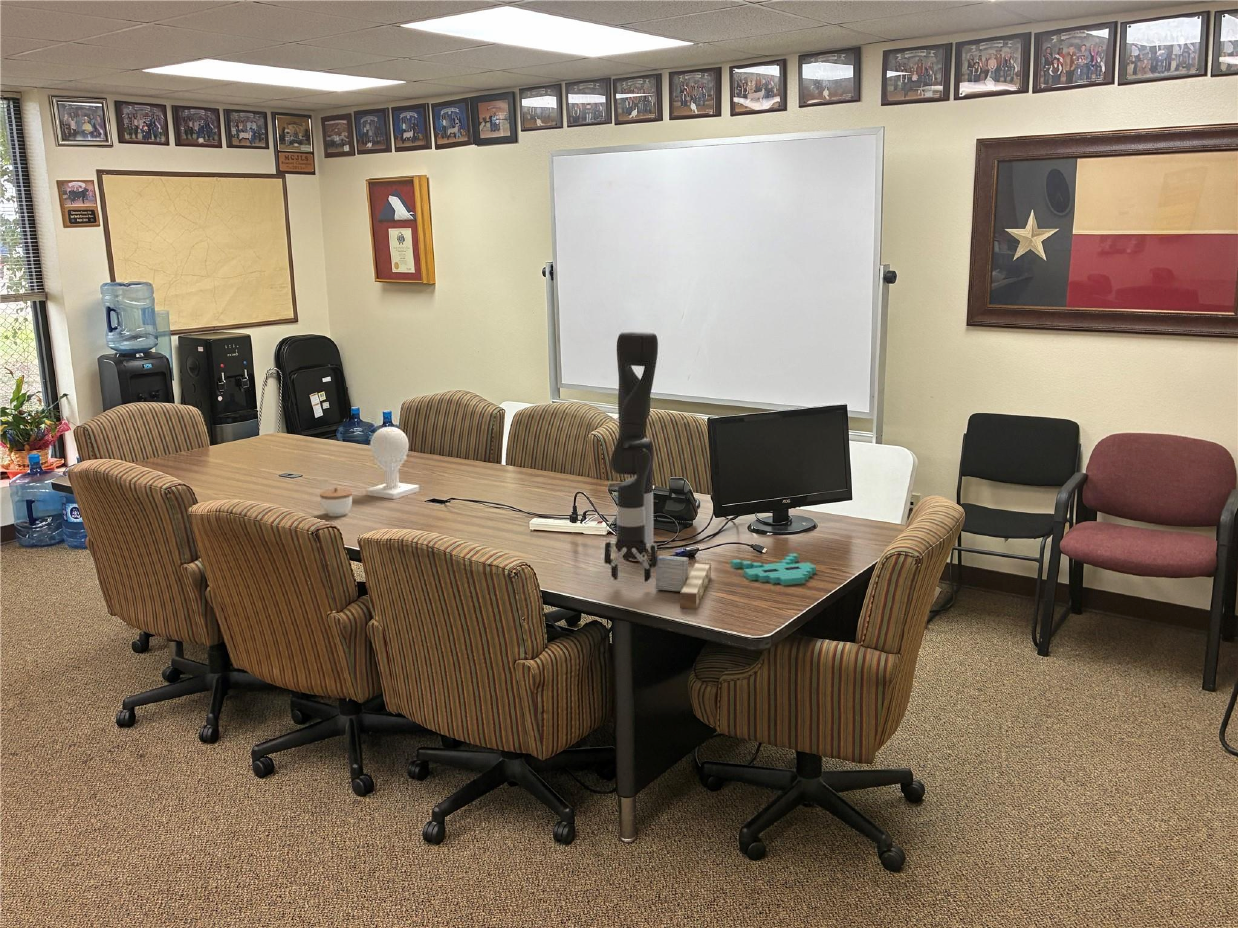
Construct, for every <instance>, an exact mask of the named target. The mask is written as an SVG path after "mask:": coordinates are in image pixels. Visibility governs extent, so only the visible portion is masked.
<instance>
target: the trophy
mask: <svg viewBox="0 0 1238 928" xmlns="http://www.w3.org/2000/svg"><path fill="white" fill-rule="evenodd" d="M369 445H370V451H371V454H372V456H373V458H374V461H375V463H376V464H378V465H379V467H380V468H382V469H383V470H384V482H385V483H383V484H379V485H376V486H373V487H370V488H367V489H365V494H366V496H371V497H378V498H385V499H391V500H396V499H399V498H402V497H405V496H408V495H411V494H414V493H417V492H419V491H420V485H418V484H417V485H416V484H409V483H401V482H400V480H399V479H400V478H399V469H400V467H402V465H403V464H404V462H405V461H406V460H407V459H408V457H407V454H408V451H409V447H410V446H409V445H410V443H409V439H408V437H407V435H406V434H405V432H403V430H401V429H399V428H397V427H394V426H384V427H381V428H379V429H378V430H377V431H375V433H374V434H373V435H372V436H371V439H370V444H369Z"/></svg>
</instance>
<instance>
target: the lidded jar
mask: <svg viewBox="0 0 1238 928" xmlns="http://www.w3.org/2000/svg"><path fill="white" fill-rule="evenodd" d="M319 497H320V498H319V499H320V503H321V507H322V510H323V511H324V512H325V513H326V514H327V515H328V516H329V517H342V516H346V515H347V514H348V512H349V511H350V509H351V508H352V504H353V491H352V489H347V488H338V487H334V488H331V489H327V490H324V491H321V492H320V493H319Z"/></svg>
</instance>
